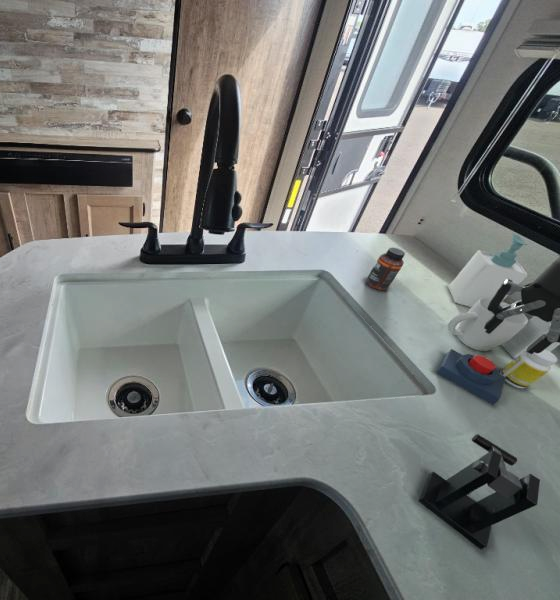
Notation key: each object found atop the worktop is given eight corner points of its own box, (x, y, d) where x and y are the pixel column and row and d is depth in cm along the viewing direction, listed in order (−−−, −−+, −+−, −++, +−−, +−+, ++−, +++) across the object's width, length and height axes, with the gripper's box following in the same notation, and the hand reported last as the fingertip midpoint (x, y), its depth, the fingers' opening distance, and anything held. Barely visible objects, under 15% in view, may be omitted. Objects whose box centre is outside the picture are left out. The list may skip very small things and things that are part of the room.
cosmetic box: (524, 347, 79) (569, 310, 71) (539, 362, 76) (587, 324, 68) (499, 344, 79) (540, 307, 71) (512, 359, 76) (558, 321, 68)
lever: (468, 440, 53) (479, 430, 52) (507, 465, 50) (519, 454, 49) (474, 477, 44) (487, 465, 43) (521, 509, 41) (537, 497, 40)
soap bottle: (481, 295, 95) (535, 237, 83) (490, 313, 89) (550, 253, 77) (447, 286, 98) (494, 228, 85) (454, 302, 91) (506, 242, 79)
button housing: (444, 355, 75) (456, 343, 72) (498, 383, 69) (512, 371, 67) (435, 372, 70) (447, 360, 68) (492, 404, 65) (507, 393, 62)
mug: (477, 330, 83) (508, 300, 76) (503, 357, 76) (539, 326, 69) (427, 324, 83) (453, 293, 76) (449, 351, 76) (479, 319, 70)
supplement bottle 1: (391, 287, 94) (414, 253, 87) (381, 293, 92) (403, 259, 84) (371, 276, 98) (391, 243, 91) (361, 282, 95) (381, 248, 88)
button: (470, 357, 70) (476, 352, 68) (490, 368, 68) (497, 363, 67) (466, 366, 68) (472, 360, 66) (487, 377, 66) (494, 372, 64)
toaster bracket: (428, 474, 53) (480, 437, 45) (488, 517, 49) (556, 484, 41) (417, 501, 50) (472, 466, 42) (480, 549, 45) (553, 521, 38)
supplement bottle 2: (531, 391, 69) (567, 365, 63) (508, 387, 69) (541, 361, 64) (516, 373, 72) (548, 347, 67) (493, 369, 73) (524, 343, 67)
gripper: (529, 255, 53) (460, 328, 64) (659, 301, 46) (556, 375, 57) (533, 242, 58) (467, 313, 68) (653, 282, 50) (558, 354, 61)
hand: (508, 340), depth 62 cm, fingers open, 6 cm apart
